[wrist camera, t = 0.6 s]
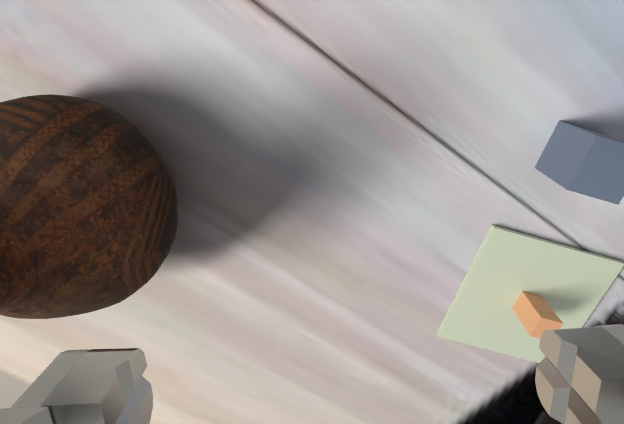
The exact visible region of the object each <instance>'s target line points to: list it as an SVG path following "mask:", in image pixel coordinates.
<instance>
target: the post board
mask: <svg viewBox="0 0 624 424" xmlns="http://www.w3.org/2000/svg"><path fill="white" fill-rule="evenodd" d="M623 266H624V263H623V262H622V261H620V260H616V259H613V258H609V257H606V256H602V255H599V254H595V253H591V252H588V251H584V250H581V249H577V248H574V247H570V246H566V245H563V244H559V243H556V242H552V241H549V240H545V239H542V238H538V237H534V236H531V235H527V234H524V233H520V232H517V231H513V230H509V229H506V228H502V227H499V226H495V225H491V227H490V229H489V231H488V233H487V235H486V237H485V239H484V241H483V243H482V245H481V247H480V249H479V251H478V253H477V255H476V257H475V259H474V261H473V263H472V265H471V267H470V269H469V271H468V273H467V275H466V277H465V279H464V280H463V282H462V284H461V286H460V288H459V290H458V292H457V294H456V296H455V298H454V300H453V302H452V304H451V306H450V308H449V310H448V312H447V314H446V316H445V318H444V320H443V322H442V324H441V326H440V328H439V330H438V332H437V334H438V337H441V338H445V339H448V340H452V341H456V342H460V343H464V344H468V345H472V346H476V347H480V348H483V349H487V350H491V351H495V352H499V353H503V354H507V355H511V356H515V357H518V358H522V359H526V360H530V361H534V362H538V363H540V362H541V361H542V360H543V359H544V358H545V355H544V354H543V353H542V351H541V350H540V348H539V345H540V338H541V335H542V334H543V332H544V330H553V329H570V328H582V326H583V325H584V323H585V322H586V320H587V319H588V318H589V316H590V315H591V313H592V312H593V310H594V309H595V307H596V306H597V304H598V303H599V301H600V300H601V299H602V297H603V296H604V294H605V293H606V291H607V290H608V288H609V287H610V285H611V284H612V282H613V281H614V279H615V278H616V277H617V275H618V274H619V272H620V271H621V269H622V268H623Z"/></svg>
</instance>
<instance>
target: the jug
mask: <svg viewBox="0 0 624 424" xmlns="http://www.w3.org/2000/svg"><path fill="white" fill-rule="evenodd" d="M176 229H177V199H176V192H175V186H174V183H173V180H172V177H171V175H170V173H169V170H168V168H167V166H166V165H165V163H164V161H163V159H162V158H161V156H160V155H159V153H158V152H157V150H156V149H155V148H154V146H153V145H152V144H151V143H150V142H149V141H148V139H147V138H146V137H145V136H144V135H143V134H142V133H141V132H140V131H139V130H138V129H137V128H136V127H135V126H134V125H132V124H131V123H130V122H129V121H128V120H126V119H125V118H124V117H122V116H121V115H120V114H118V113H116V112H115V111H113V110H111V109H109V108H107V107H104V106H102V105H100V104H97V103H94V102H91V101H88V100H84V99H80V98H76V97H71V96H63V95H36V96H27V97H22V98H17V99H13V100H9V101H5V102H1V103H0V315H3V316H7V317H14V318H26V319H48V318H58V317H66V316H72V315H79V314H83V313H88V312H92V311H96V310H99V309H103V308H106V307H109V306H112V305H114V304H117V303H119V302H121V301H123V300H125V299H126V298H128V297H129V296H131V295H132V294H133V293H135V292H136V291H137V290H138V289H140V288H141V287H142V286H143V285H145V284H146V283H147V282H148V281H149V280H150V279H151V278H152V277H153V276H154V274H155V273H156V272H157V270H158V269H159V267H160V266H161V264H162V263H163V261H164V259H165V258H166V256H167V254H168V253H169V251H170V248H171V246H172V244H173V241H174V238H175V234H176Z"/></svg>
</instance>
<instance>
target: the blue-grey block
mask: <svg viewBox="0 0 624 424" xmlns="http://www.w3.org/2000/svg"><path fill="white" fill-rule="evenodd" d="M535 168H536V169H537V170H539V171H540V172H542V173H543V174H545V175H546V176H548V177H549V178H551V179H552V180H554V181H555V182H556V183H558V184H559V185H561V186H562V187H564V188H565V189H567V190H570V191H573V192H577V193H580V194H584V195H587V196H591V197H594V198H597V199H601V200H604V201H608V202H611V203H615V204H619V203H620V201H621V199H622V198H623V196H624V141H621V140H618V139H616V138H613V137H611V136H608V135H605V134H602V133H599V132H595V131H592V130H589V129H586V128H582V127H579V126H576V125H572V124H569V123H566V122H563V121H559V122H558V124H557V126H556V128H555V130H554V132H553V134H552V136H551V138H550V140H549V142H548V143H547V145H546V147H545V149H544V151H543V153H542V155H541V157H540V159H539V161H538V163H537V164H536V166H535Z"/></svg>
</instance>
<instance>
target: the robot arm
mask: <svg viewBox="0 0 624 424" xmlns="http://www.w3.org/2000/svg"><path fill="white" fill-rule="evenodd" d="M539 348H540V350H541V351H542V353H543V354H544V355H545V358H544V359H543V360H542V361H541V362H540V363H539V364H538V365H537V366H536V377H535V383H536V388H537V393H538V396H539V398H540V401H541V403H542V405H543V407H544V408H545V410H546V411H547V413H548V414H549V415H550V416H551V417H553V418H554V419H556V420H558V421H559V422H561V423H563V424H624V325H621V324H619V325H606V326H595V327H586V328H570V329H553V330H544V332H543V334H542V335H541V338H540V345H539ZM146 367H147V363H146V359H145V355H144V352H143V351H142V350H141V349H139V348H128V349H92V350H88V349H87V350H68V351H65V352H62V353H60V354H59V355H58V356H57V357H56V358H55V359H54V360H53V362H52V363H51V364H50V365H49V366H48V367H47V368H46V369H45V370H44V371H43V372H42V374H41V375H40V376H39V377H38V378H37V379H36V380H35V381H34V382H33V383H32V385H31V386H30V387H29V388H28V389H27V390H26V391H25V392H24V393H23V394H22V396H21V397H20V398H19V399H18V400H17V401H16V402H15V403H14V404H13V405H12V407H11V408H6V409H0V424H149V422H150V418H151V413H152V408H153V393H152V388H151V384H150V383H149V382H148V381H147V380H146V379H145V378H144V377H143V376H142V374H143V372H144V371H145V369H146Z"/></svg>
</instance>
